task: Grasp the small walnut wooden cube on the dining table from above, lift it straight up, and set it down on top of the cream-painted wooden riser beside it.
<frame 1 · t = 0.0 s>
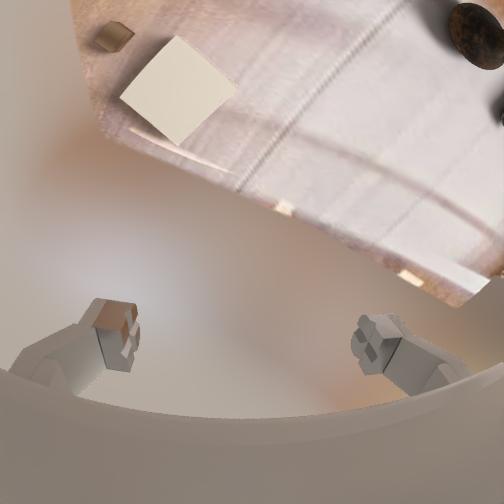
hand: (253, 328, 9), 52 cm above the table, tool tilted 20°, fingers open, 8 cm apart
walnut cube: (119, 36, 36), on the table
riser: (181, 87, 46), on the table
glass bottle: (462, 33, 32), on the table
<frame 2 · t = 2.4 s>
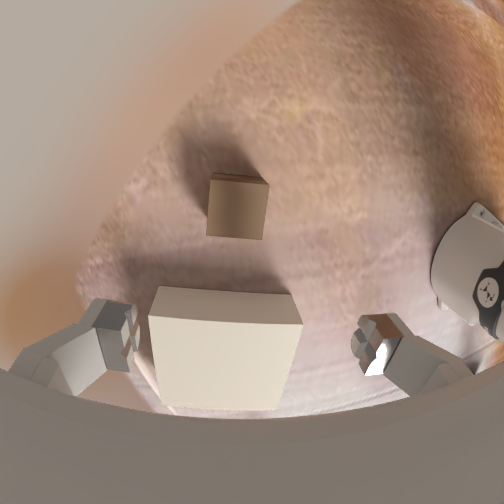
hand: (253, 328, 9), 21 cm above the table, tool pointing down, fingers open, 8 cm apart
walnut cube: (235, 198, 28), on the table
riser: (221, 341, 35), on the table
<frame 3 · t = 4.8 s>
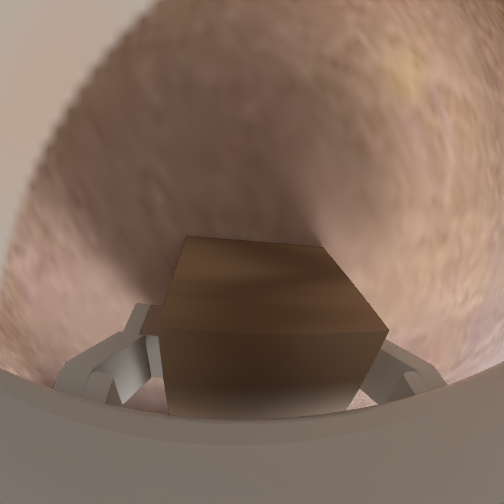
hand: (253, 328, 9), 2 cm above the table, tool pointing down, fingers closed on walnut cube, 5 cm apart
walnut cube: (249, 301, 11), on the table, touching gripper
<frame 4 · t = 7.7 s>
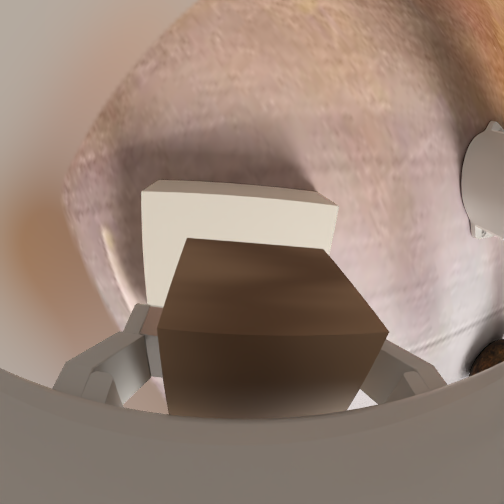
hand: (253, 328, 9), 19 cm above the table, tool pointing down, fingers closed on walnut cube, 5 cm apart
walnut cube: (249, 302, 11), point 18 cm above the table, touching gripper
riser: (232, 258, 29), on the table
glass bottle: (483, 356, 47), on the table
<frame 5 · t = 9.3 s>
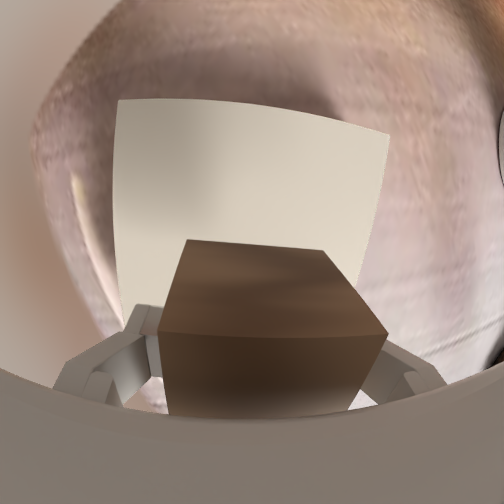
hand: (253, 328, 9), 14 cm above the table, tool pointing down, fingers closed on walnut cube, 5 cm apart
walnut cube: (249, 303, 11), point 12 cm above the table, touching gripper
riser: (239, 216, 22), on the table
glass bottle: (503, 355, 40), on the table
when the fingers open (9 cm above the table, at t = 10.6 s): walnut cube stays where it is, resting on riser.
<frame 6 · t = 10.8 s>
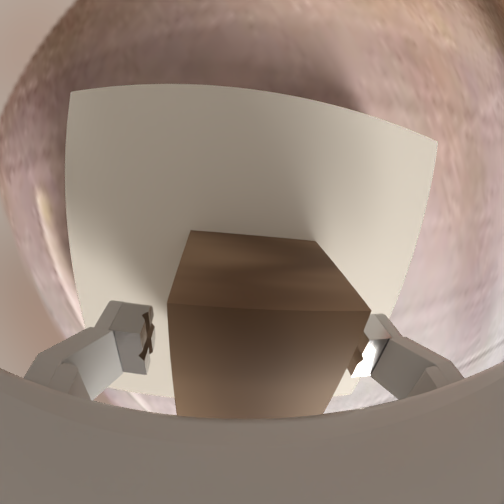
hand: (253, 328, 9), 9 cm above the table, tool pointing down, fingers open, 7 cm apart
walnut cube: (247, 290, 12), point 6 cm above the table, touching riser
riser: (238, 240, 17), on the table
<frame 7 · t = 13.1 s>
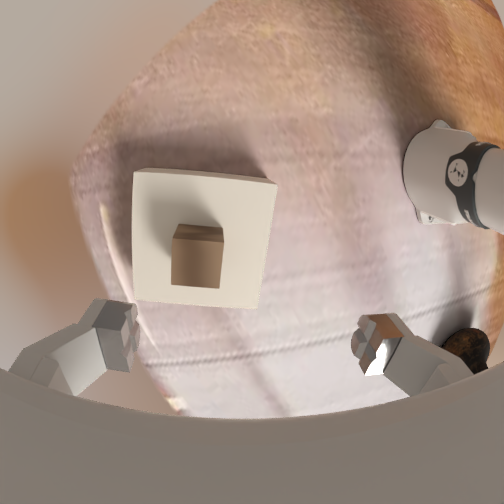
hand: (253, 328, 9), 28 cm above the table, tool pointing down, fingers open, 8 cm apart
walnut cube: (198, 246, 31), point 6 cm above the table, touching riser
riser: (201, 230, 37), on the table
glass bottle: (450, 345, 57), on the table
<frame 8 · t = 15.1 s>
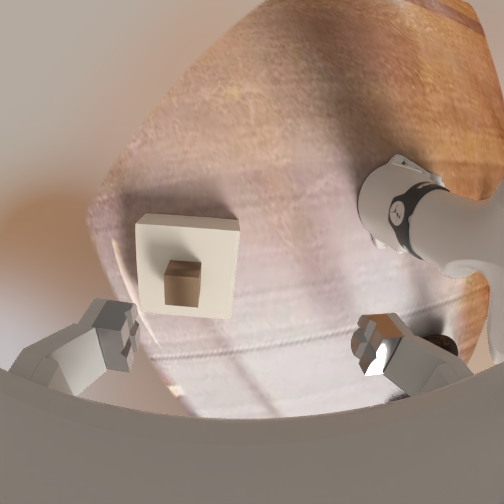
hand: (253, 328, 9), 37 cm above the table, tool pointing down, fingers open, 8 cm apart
walnut cube: (185, 275, 43), point 6 cm above the table, touching riser
riser: (189, 259, 48), on the table
glass bottle: (421, 349, 67), on the table
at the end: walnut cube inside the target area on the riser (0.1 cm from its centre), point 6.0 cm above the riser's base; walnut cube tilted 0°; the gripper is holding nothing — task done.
